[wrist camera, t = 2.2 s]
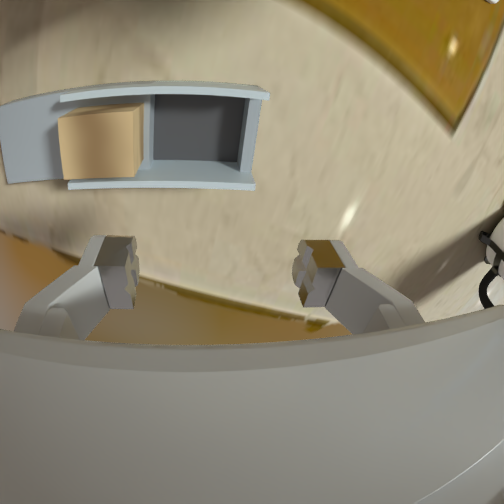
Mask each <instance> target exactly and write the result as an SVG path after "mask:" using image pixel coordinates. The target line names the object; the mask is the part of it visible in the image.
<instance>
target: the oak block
mask: <svg viewBox="0 0 504 504" xmlns="http://www.w3.org/2000/svg"><path fill="white" fill-rule="evenodd" d="M58 132H59V143H60V153H61V161H62V169H63V176H64V180H69V179H87V178H113V177H134V176H135V174H136V172H137V171H138V169H139V167H140V165H141V163H142V161H143V159H144V103H123V104H109V105H97V106H88V107H79V108H76V109H74V110H72V111H70V112H68V113H67V114H65V115H63V116H61V117H59V118H58Z"/></svg>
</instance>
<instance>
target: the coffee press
mask: <svg viewBox="0 0 504 504" xmlns="http://www.w3.org/2000/svg"><path fill="white" fill-rule="evenodd" d="M479 240H480V241H481V242H483V243H485V244H487V249H486V257H485V258H484V261H485V263H486V264H491V265H492V266H493V267H492V268H491V269H490V270H489V271H488V273H487V274H486V275H485V276H484V278H483V279H482V281H481V283H480V285H479V297H480V301H481V303H482V305H483V307H484V308H485V309H487V308H491V307H494V305H493V304H492V302H491V301H490V299H489V298H488V296H487V287H488V285H489V284H490V282H491V281H492V280H493V279H494V278H495V277H496V276H498V275H499V276H500V277H502V278H503V280H504V218H503V219H502V220H501V221H500V222H499V223H498V225H497V226H496V228H495V229H494V231H493V233H492V234H488V233H486V232H483V231H481V233H480V235H479Z"/></svg>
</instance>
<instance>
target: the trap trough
mask: <svg viewBox="0 0 504 504" xmlns="http://www.w3.org/2000/svg"><path fill="white" fill-rule="evenodd" d="M269 97H270V93H269V92H268V91H266V90H264V89H262V88H260V87H258V86H254V85H244V84H234V83H221V82H204V81H139V82H123V83H110V84H100V85H92V86H84V87H77V88H70V89H64V90H58V91H53V92H48V93H43V94H38V95H34V96H29V97H25V98H21V99H17V100H13V101H11V102H8V103H6V104H4V105H1V106H0V141H1V148H2V155H3V161H4V166H5V172H6V177H7V181H8V184H9V183H18V182H28V181H39V180H50V179H64V176H63V169H62V161H61V153H60V143H59V132H58V118H59V117H61V116H63V115H65V114H67V113H68V112H70V111H72V110H74V109H76V108H79V107H88V106H97V105H109V104H123V103H144V159H143V161H142V163H141V165H140V167H139V169H138V171H137V172H136V174H135V176H134V177H113V178H87V179H71V180H70V181H69V182H68V189H69V190H73V189H98V188H205V189H232V190H252V191H255V185H256V184H255V181H254V178H253V176H252V173H251V170H252V163H253V156H254V150H255V143H256V136H257V130H258V123H259V117H260V110H261V104H262V100H269Z"/></svg>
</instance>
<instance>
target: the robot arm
mask: <svg viewBox="0 0 504 504" xmlns="http://www.w3.org/2000/svg"><path fill="white" fill-rule="evenodd" d="M486 1H488V2H489V3H497V2H498V1H499V0H486ZM136 249H137V243H136V238H135V236H114V235H107V236H106V235H93V236H92V237H91V238H90V240H89V243H88V245H87V247H86V249H85V251H84V253H83V256H82V258H81V260H80V263H79V265H78V266H73V267H72V268H70V269H69V270H68V271H66V272H65V273H64V274H62V275H61V276H60V277H58V278H57V279H56V280H54V281H53V282H52V283H51V284H49V285H48V286H46V287H45V288H44V289H43V290H42V291H40V292H39V293H38V294H36V295H35V296H34V297H33V298H31V299H30V300H29V301H28V302H26V303H25V305H24V307H23V309H22V312H21V314H20V316H19V319H18V322H17V324H16V326H15V329H14V331H9V330H3V329H0V504H504V305H497V306H494V307H491V308H487V309H483V310H479V311H475V312H471V313H467V314H463V315H459V316H454V317H450V318H445V319H441V320H436V321H431V322H426V323H425V321H424V320H423V318H422V317H421V315H420V313H419V312H418V310H417V308H416V307H415V305H414V304H413V302H412V301H411V300H410V299H408V298H407V297H406V296H404V295H403V294H401V293H400V292H398V291H397V290H395V289H394V288H392V287H391V286H389V285H388V284H386V283H385V282H383V281H382V280H380V279H379V278H377V277H376V276H374V275H373V274H371V273H369V272H368V271H366V270H365V269H363V268H359V267H358V266H357V264H356V263H355V261H354V259H353V258H352V256H351V255H350V253H349V251H348V250H347V248H346V247H345V245H344V244H343V242H342V241H340V240H301V241H300V242H299V245H298V248H297V250H298V252H299V255H298V256H297V257H296V258H295V259H294V262H293V266H292V276H293V281H294V284H295V285H296V286H297V287H299V288H300V290H299V293H298V295H299V297H300V300H301V303H302V305H303V307H325V308H326V309H327V310H328V311H329V312H330V313H331V314H332V315H333V316H334V317H335V318H336V319H337V320H338V321H339V322H340V323H341V324H343V325H344V326H345V327H346V328H347V329H348V330H349V331H350V332H351V333H352V334H353V335H346V336H337V337H329V338H319V339H309V340H298V341H286V342H270V343H254V344H232V345H231V344H230V345H151V344H150V345H149V344H128V343H127V344H126V343H111V342H97V341H85V338H86V337H87V336H88V335H89V334H90V332H91V331H92V330H93V329H94V328H95V326H96V325H97V324H98V323H99V322H100V321H101V320H102V318H103V317H104V316H105V315H106V314H107V313H108V311H109V309H134V304H135V298H136V290H135V287H136V286H137V285H138V281H139V258H138V256H137V255H136V254H135V253H136Z"/></svg>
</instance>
